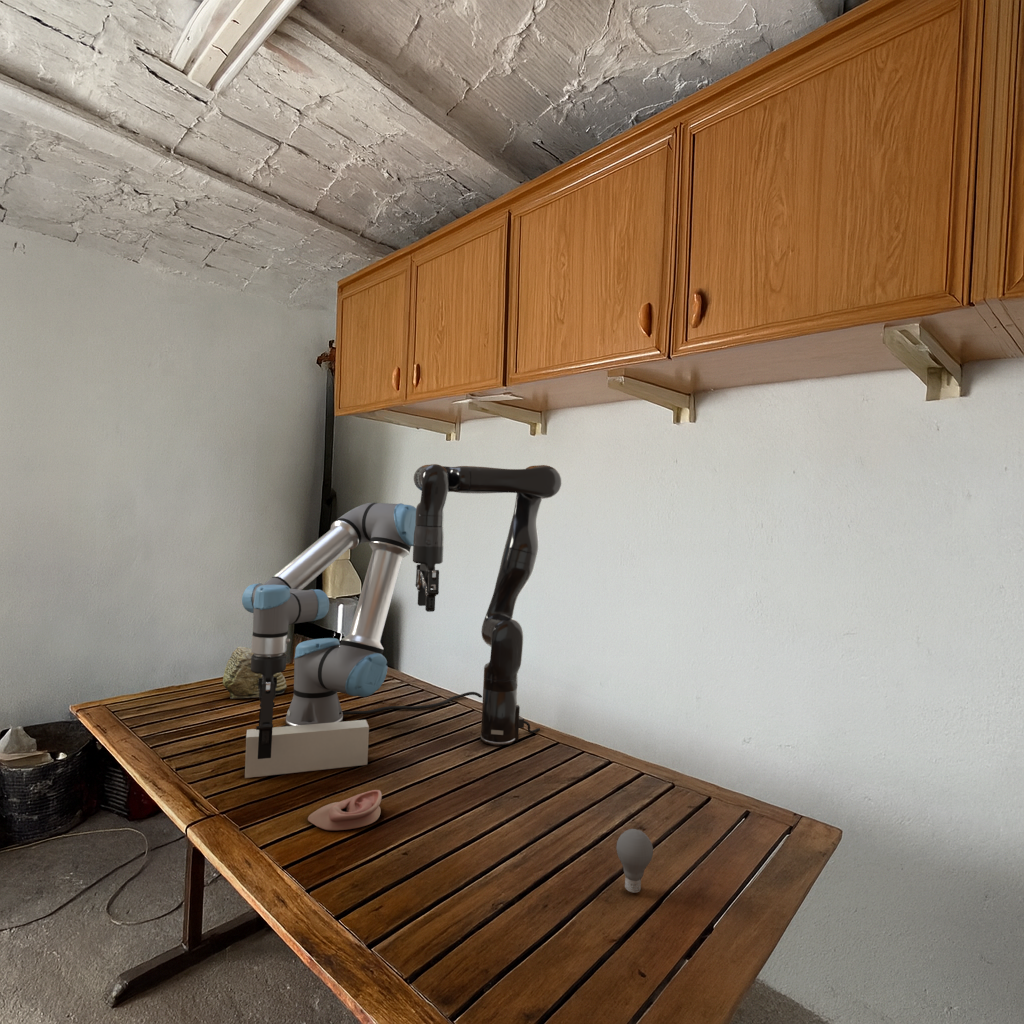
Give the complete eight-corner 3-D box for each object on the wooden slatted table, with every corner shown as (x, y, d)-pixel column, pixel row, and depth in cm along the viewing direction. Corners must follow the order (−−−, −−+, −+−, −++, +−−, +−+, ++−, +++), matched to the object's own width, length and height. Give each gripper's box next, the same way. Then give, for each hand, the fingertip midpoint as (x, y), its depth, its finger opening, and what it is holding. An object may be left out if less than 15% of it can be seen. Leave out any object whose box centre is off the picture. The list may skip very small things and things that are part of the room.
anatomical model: (300, 805, 121) (329, 780, 132) (299, 826, 121) (328, 798, 133) (364, 815, 119) (388, 788, 130) (363, 836, 119) (387, 807, 130)
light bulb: (610, 879, 108) (613, 822, 108) (644, 879, 109) (647, 822, 109) (619, 902, 102) (622, 840, 102) (655, 901, 103) (658, 840, 103)
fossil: (218, 695, 195) (220, 647, 195) (278, 685, 208) (279, 640, 207) (228, 703, 189) (230, 653, 188) (289, 692, 201) (290, 645, 201)
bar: (244, 778, 141) (246, 737, 141) (245, 769, 145) (246, 729, 145) (367, 764, 151) (369, 726, 150) (364, 756, 155) (365, 719, 155)
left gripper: (288, 666, 134) (283, 766, 134) (285, 641, 157) (280, 726, 157) (250, 667, 131) (244, 770, 131) (252, 642, 154) (247, 729, 154)
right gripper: (450, 546, 153) (447, 613, 154) (435, 542, 167) (433, 603, 167) (420, 546, 151) (417, 614, 151) (407, 541, 164) (405, 603, 164)
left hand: (264, 746), depth 144 cm, fingers open, 13 cm apart
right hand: (425, 608), depth 159 cm, fingers open, 8 cm apart
